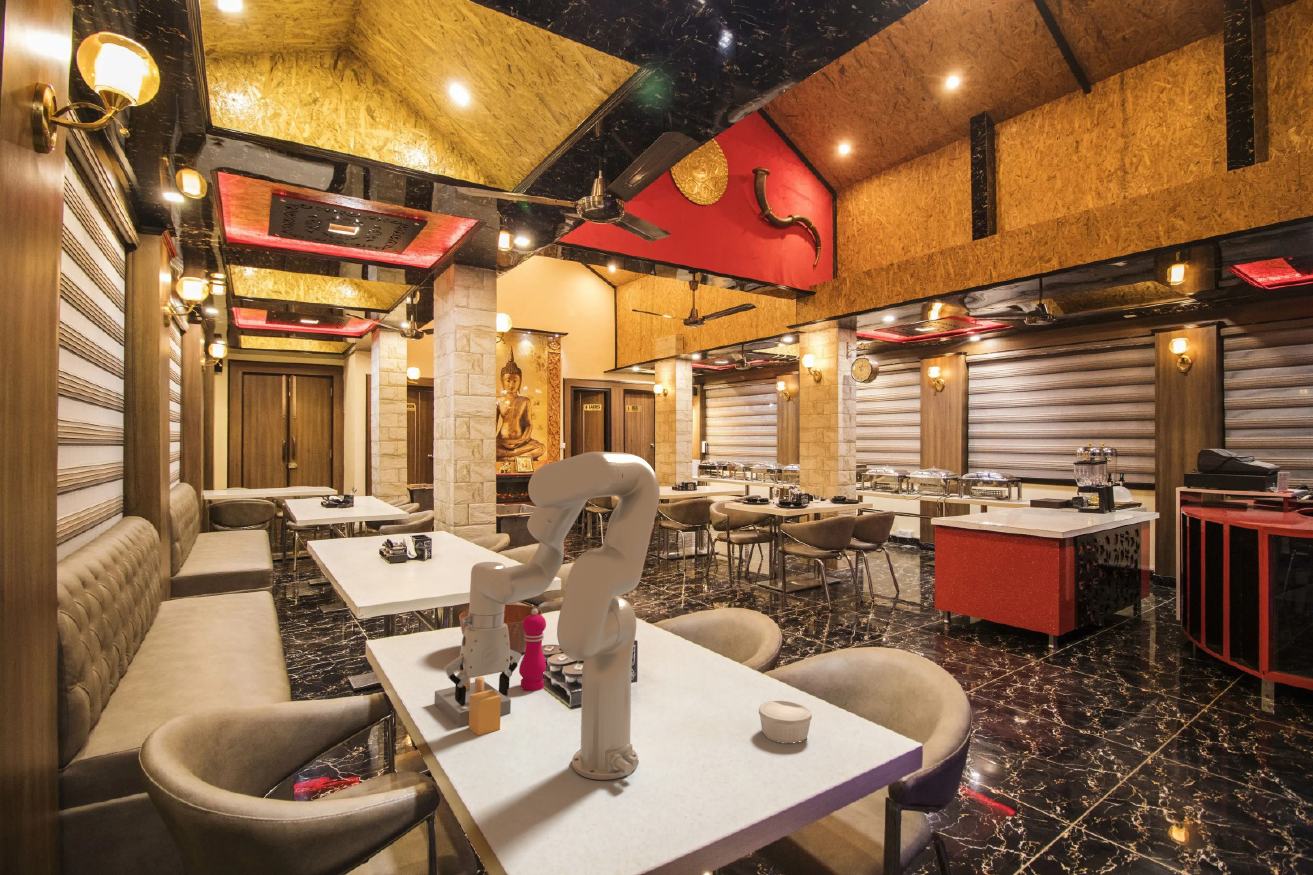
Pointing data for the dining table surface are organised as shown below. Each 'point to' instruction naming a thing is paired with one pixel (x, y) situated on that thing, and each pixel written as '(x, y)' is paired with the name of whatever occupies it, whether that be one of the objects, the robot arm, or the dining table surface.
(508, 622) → the bowl
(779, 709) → the ramekin
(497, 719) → the upright wooden block
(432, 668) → the dining table surface
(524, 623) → the pepper mill
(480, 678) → the peg board base
